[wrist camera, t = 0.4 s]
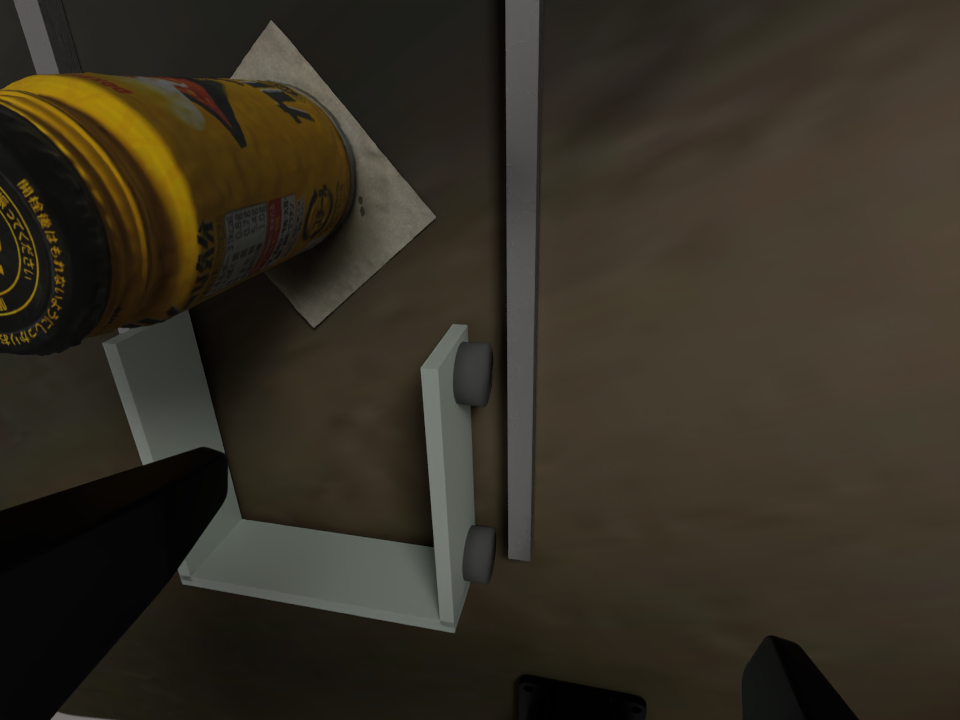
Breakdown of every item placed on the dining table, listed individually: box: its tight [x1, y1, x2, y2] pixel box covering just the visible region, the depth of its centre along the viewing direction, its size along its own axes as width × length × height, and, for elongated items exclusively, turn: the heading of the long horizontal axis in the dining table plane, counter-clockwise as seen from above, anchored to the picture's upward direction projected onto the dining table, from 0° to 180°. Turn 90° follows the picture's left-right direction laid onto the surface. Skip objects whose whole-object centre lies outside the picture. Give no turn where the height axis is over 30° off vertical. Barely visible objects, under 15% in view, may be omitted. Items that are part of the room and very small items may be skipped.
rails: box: [14, 0, 544, 562], centre depth 22 cm, size 28×19×1 cm, turn 1°
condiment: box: [0, 21, 436, 356], centre depth 16 cm, size 7×8×12 cm
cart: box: [102, 310, 496, 633], centre depth 24 cm, size 12×15×4 cm
